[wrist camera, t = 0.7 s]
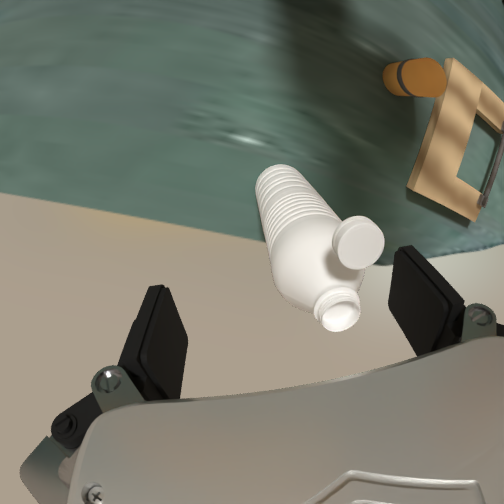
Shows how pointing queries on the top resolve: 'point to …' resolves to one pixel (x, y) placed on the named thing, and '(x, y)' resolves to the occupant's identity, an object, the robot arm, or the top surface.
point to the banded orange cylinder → (415, 78)
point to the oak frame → (456, 141)
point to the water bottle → (314, 248)
